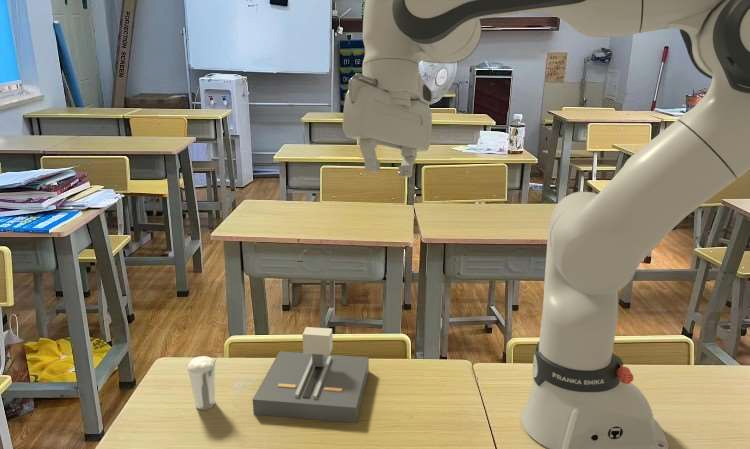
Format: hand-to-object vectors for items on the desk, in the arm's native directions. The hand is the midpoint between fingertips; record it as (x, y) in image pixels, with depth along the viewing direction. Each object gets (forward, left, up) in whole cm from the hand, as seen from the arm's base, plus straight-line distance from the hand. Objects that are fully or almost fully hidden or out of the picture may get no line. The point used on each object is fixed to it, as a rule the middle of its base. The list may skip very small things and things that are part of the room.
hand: (389, 174), depth 85 cm
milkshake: (+32, +4, -42) cm, 53 cm away
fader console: (+14, -2, -42) cm, 44 cm away
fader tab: (+14, -6, -38) cm, 41 cm away
